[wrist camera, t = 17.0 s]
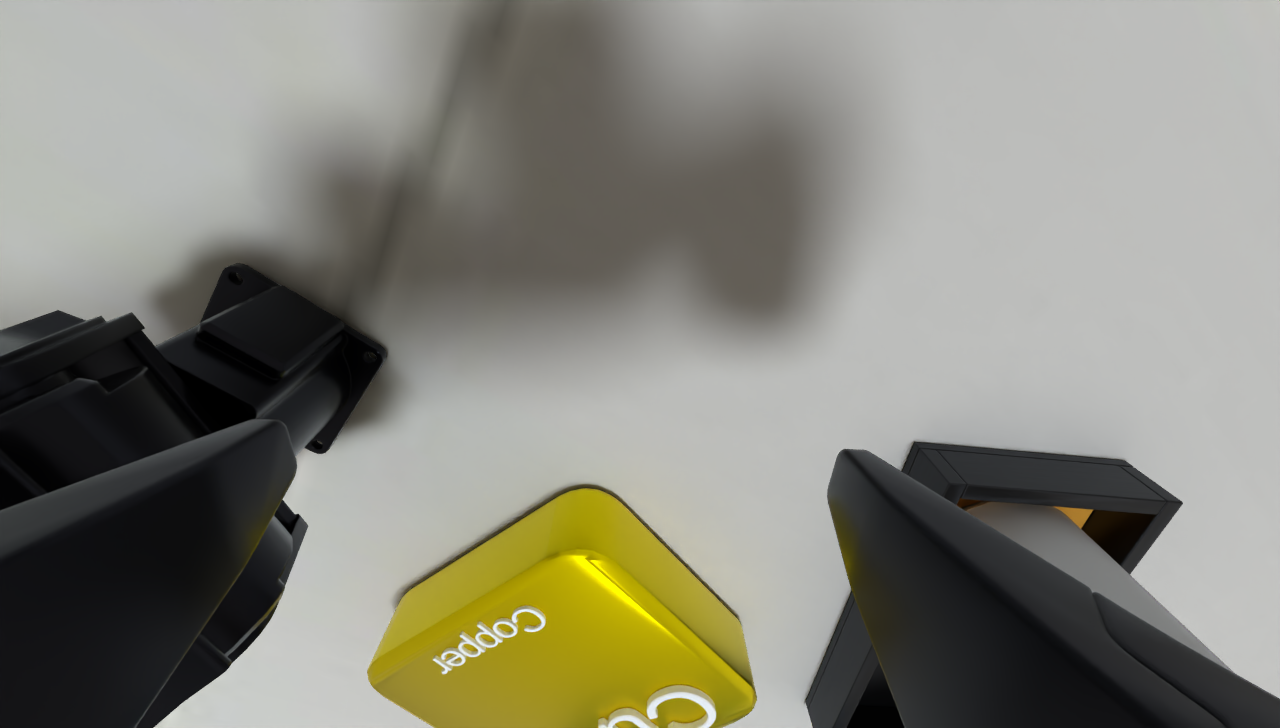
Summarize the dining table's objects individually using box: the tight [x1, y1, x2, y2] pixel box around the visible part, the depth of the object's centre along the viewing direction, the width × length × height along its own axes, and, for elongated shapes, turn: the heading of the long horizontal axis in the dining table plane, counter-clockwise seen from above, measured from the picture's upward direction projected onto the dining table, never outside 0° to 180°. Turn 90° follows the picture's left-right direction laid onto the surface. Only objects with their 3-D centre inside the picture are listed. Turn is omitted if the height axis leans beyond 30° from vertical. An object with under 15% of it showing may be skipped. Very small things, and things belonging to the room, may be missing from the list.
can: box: [962, 501, 1234, 673], centre depth 21 cm, size 8×8×12 cm
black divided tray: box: [806, 442, 1183, 728], centre depth 28 cm, size 11×20×3 cm, turn 174°
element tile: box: [367, 488, 757, 728], centre depth 27 cm, size 15×15×5 cm
